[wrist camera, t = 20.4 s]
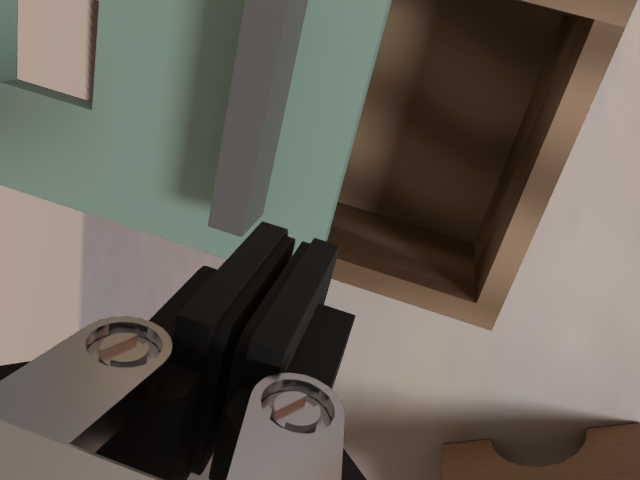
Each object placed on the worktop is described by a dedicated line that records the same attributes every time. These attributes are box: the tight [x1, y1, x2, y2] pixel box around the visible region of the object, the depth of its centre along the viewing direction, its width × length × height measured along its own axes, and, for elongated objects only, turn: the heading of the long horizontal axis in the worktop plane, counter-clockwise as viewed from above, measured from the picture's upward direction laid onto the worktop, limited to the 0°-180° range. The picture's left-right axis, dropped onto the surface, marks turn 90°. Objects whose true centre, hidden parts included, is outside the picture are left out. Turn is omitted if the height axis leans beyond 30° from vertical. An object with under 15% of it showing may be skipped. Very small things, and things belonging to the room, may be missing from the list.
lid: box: [0, 0, 392, 259], centre depth 25 cm, size 16×20×4 cm
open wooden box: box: [327, 0, 637, 331], centre depth 31 cm, size 16×20×9 cm
